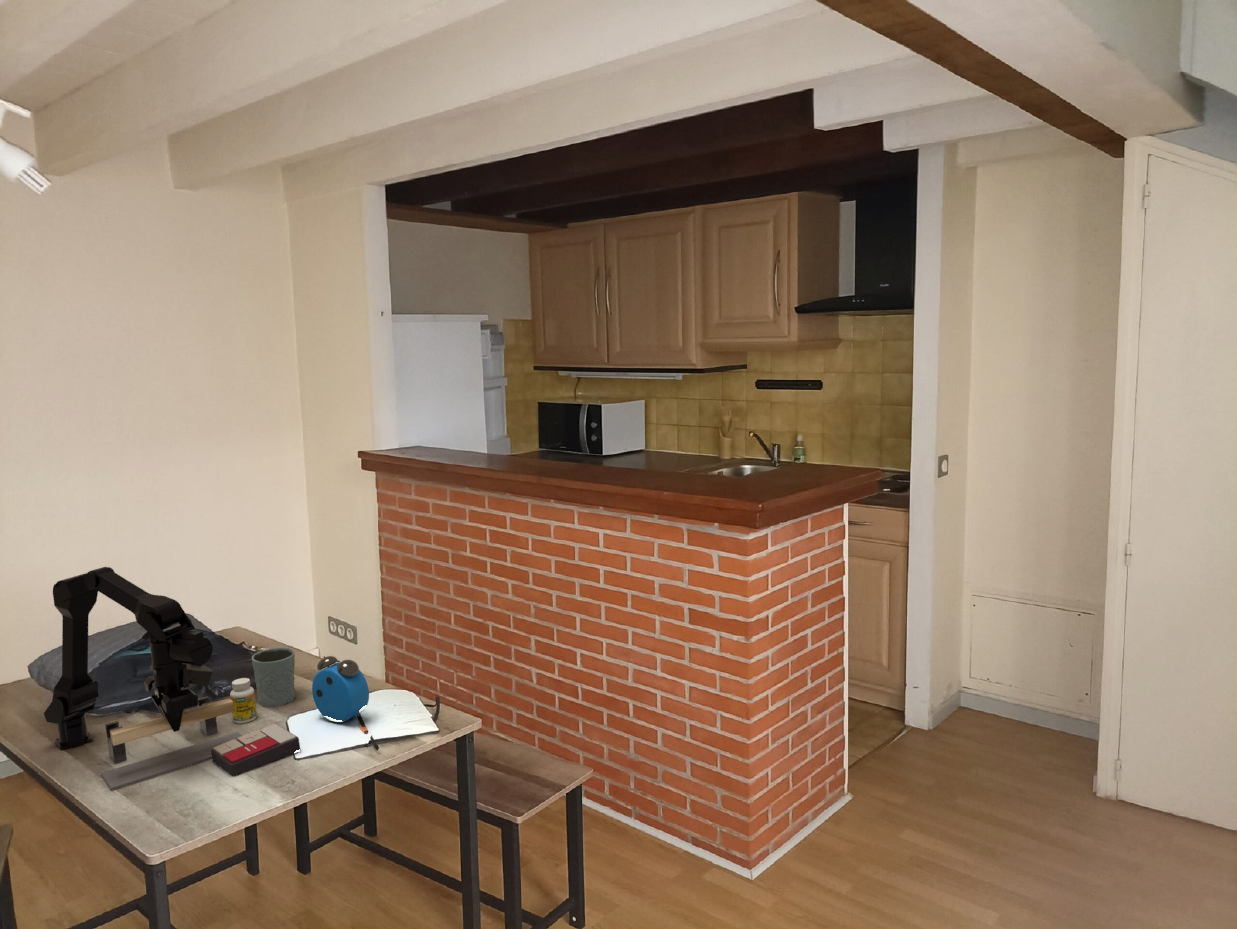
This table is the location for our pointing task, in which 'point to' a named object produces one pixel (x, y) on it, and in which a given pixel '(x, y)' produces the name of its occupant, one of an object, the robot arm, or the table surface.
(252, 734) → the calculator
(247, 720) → the supplement bottle
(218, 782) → the table surface
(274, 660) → the green plant pot
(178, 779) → the table surface
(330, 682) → the alarm clock
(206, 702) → the bracket
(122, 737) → the beech rail
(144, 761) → the rubber mat
